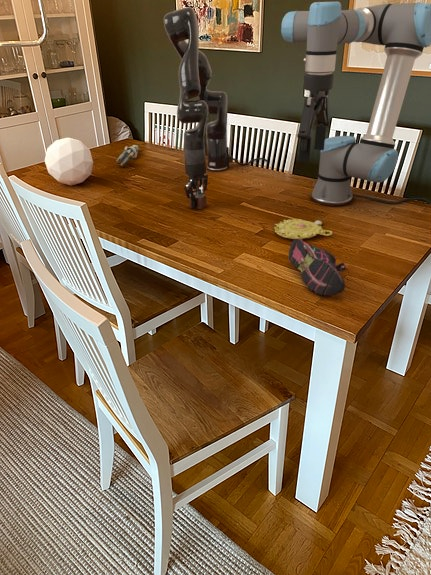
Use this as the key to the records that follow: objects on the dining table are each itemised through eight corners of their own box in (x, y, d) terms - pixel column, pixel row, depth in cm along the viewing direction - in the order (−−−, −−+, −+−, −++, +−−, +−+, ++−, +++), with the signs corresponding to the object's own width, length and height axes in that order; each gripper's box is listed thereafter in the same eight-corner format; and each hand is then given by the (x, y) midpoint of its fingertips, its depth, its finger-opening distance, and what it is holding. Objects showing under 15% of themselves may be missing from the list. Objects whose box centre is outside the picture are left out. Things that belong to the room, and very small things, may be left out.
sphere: (65, 197, 199) (41, 157, 196) (104, 175, 201) (80, 136, 198) (57, 189, 180) (29, 146, 177) (100, 165, 182) (73, 122, 180)
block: (195, 203, 170) (194, 192, 167) (206, 205, 168) (206, 194, 165) (189, 207, 167) (189, 196, 164) (201, 209, 165) (200, 198, 162)
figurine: (121, 147, 205) (136, 136, 231) (111, 160, 208) (127, 147, 235) (133, 159, 207) (147, 145, 233) (123, 171, 210) (137, 157, 237)
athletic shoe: (331, 285, 107) (371, 277, 111) (291, 223, 118) (328, 219, 123) (315, 312, 115) (352, 304, 120) (279, 253, 127) (314, 247, 131)
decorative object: (286, 211, 157) (342, 219, 147) (286, 217, 158) (341, 226, 148) (260, 233, 142) (319, 243, 133) (260, 240, 144) (319, 251, 134)
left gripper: (196, 153, 165) (198, 197, 174) (175, 164, 154) (179, 210, 163) (214, 156, 162) (215, 200, 171) (194, 167, 151) (196, 214, 160)
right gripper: (319, 66, 124) (312, 143, 136) (288, 78, 106) (283, 166, 117) (346, 67, 121) (336, 145, 133) (318, 80, 103) (310, 169, 114)
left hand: (197, 205), depth 167 cm, fingers closed on block, 4 cm apart
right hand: (311, 155), depth 125 cm, fingers open, 13 cm apart
